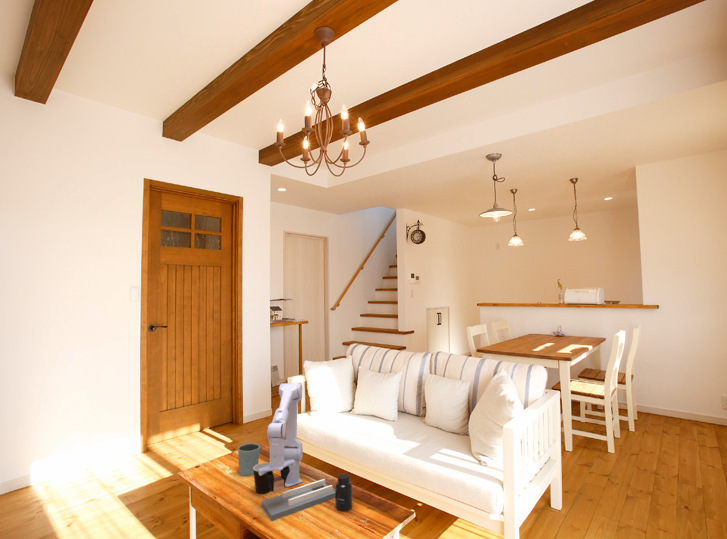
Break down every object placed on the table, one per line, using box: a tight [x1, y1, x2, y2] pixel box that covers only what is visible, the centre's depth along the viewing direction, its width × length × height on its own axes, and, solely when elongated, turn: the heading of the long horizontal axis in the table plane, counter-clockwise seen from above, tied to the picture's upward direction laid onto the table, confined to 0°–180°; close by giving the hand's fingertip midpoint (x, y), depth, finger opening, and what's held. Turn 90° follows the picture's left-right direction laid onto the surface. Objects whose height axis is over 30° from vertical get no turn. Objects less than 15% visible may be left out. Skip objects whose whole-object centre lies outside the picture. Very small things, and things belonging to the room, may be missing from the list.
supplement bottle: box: [334, 473, 353, 512], centre depth 151 cm, size 7×7×12 cm
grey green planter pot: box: [237, 442, 261, 477], centre depth 182 cm, size 10×10×12 cm
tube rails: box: [281, 478, 334, 506], centre depth 157 cm, size 8×20×2 cm, turn 124°
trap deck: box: [260, 482, 335, 522], centre depth 155 cm, size 12×28×2 cm, turn 124°
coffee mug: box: [253, 462, 274, 495], centre depth 166 cm, size 12×9×10 cm
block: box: [272, 475, 285, 494], centre depth 150 cm, size 4×4×4 cm
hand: (277, 488), depth 150 cm, fingers closed on block, 4 cm apart
